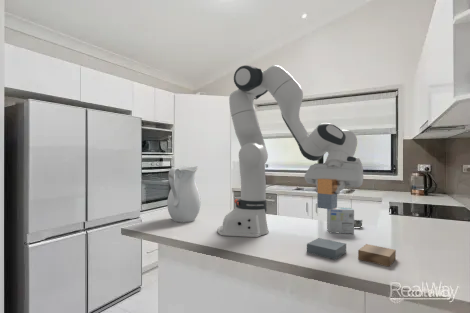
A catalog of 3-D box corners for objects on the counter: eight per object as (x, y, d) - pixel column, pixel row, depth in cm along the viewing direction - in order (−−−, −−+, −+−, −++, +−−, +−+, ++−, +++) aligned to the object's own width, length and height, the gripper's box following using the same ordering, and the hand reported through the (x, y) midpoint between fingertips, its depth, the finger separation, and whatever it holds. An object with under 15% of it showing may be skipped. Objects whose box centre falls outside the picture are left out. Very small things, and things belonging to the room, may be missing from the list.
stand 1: (306, 252, 96) (306, 243, 96) (318, 246, 103) (319, 237, 103) (335, 259, 89) (335, 250, 89) (346, 252, 97) (346, 243, 97)
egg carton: (337, 226, 137) (337, 218, 137) (341, 224, 143) (341, 216, 143) (360, 230, 130) (360, 221, 130) (363, 227, 137) (363, 218, 137)
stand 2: (358, 259, 90) (358, 250, 90) (366, 252, 97) (366, 244, 97) (389, 266, 84) (389, 256, 84) (395, 259, 91) (395, 249, 91)
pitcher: (177, 215, 154) (178, 165, 154) (205, 218, 149) (206, 166, 149) (152, 224, 131) (153, 166, 132) (183, 228, 126) (185, 167, 126)
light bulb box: (349, 230, 128) (350, 207, 129) (354, 234, 122) (355, 209, 122) (326, 229, 129) (326, 206, 130) (329, 233, 123) (330, 208, 123)
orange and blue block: (317, 207, 96) (317, 178, 96) (323, 206, 100) (323, 178, 100) (331, 209, 93) (331, 179, 93) (337, 207, 97) (337, 179, 97)
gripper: (309, 158, 109) (296, 184, 101) (364, 158, 95) (354, 188, 88) (313, 169, 112) (302, 195, 105) (367, 171, 99) (359, 201, 91)
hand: (326, 192), depth 96 cm, fingers closed on orange and blue block, 5 cm apart
